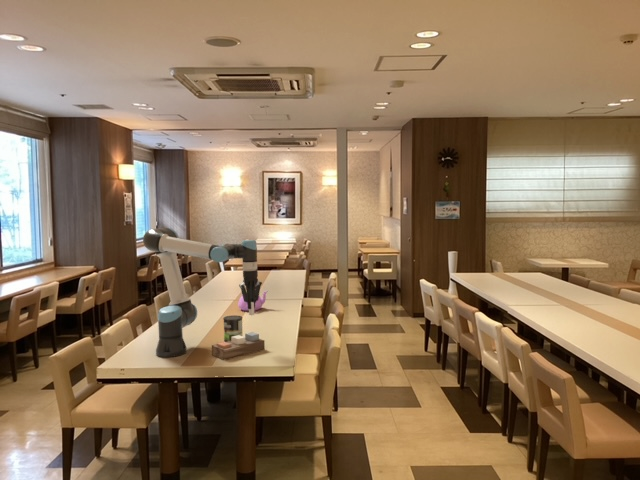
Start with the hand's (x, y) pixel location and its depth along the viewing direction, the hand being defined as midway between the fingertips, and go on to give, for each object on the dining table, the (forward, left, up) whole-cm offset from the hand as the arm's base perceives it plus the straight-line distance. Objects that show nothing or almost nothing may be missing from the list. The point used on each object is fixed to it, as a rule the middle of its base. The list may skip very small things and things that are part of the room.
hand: (251, 314), depth 261 cm
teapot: (-80, +58, -18) cm, 101 cm away
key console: (0, -8, -18) cm, 20 cm away
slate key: (0, 0, -13) cm, 13 cm away
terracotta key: (0, -17, -15) cm, 23 cm away
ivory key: (0, -8, -13) cm, 16 cm away
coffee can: (-17, 0, -18) cm, 25 cm away
